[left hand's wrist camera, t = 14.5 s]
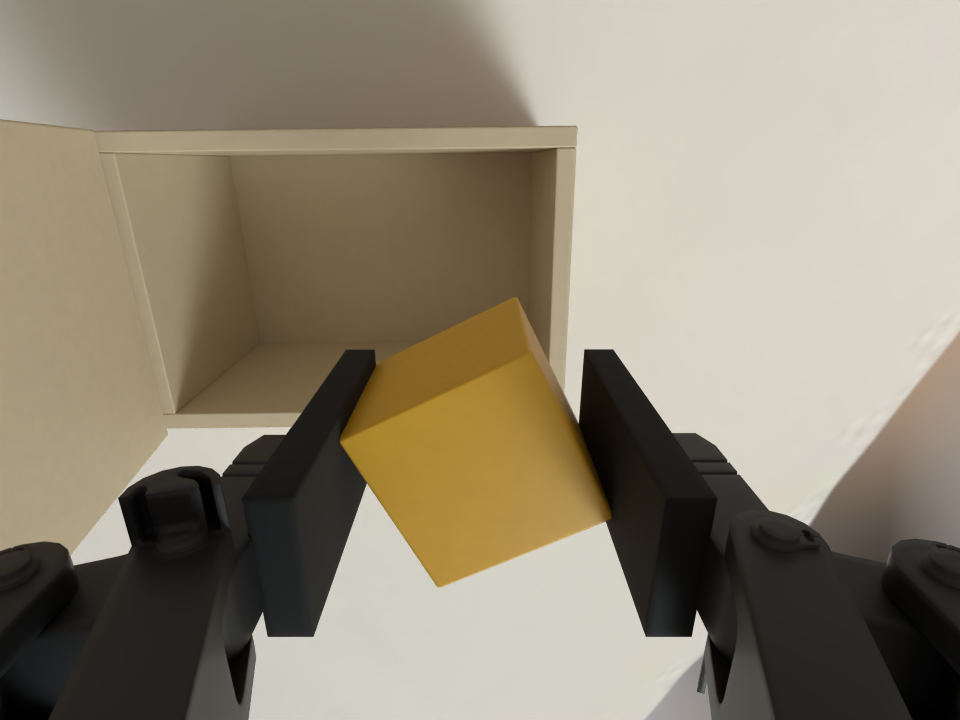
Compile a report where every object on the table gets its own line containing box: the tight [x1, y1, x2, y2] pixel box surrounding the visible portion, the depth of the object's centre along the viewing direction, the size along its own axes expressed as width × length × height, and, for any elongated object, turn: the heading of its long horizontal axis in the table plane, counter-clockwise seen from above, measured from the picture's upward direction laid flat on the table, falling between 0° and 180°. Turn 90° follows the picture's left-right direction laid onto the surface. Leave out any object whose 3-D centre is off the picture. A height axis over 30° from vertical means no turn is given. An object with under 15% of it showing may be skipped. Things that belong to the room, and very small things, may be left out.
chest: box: [94, 126, 577, 428], centre depth 26 cm, size 17×12×10 cm
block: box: [340, 297, 612, 587], centre depth 13 cm, size 4×4×4 cm
